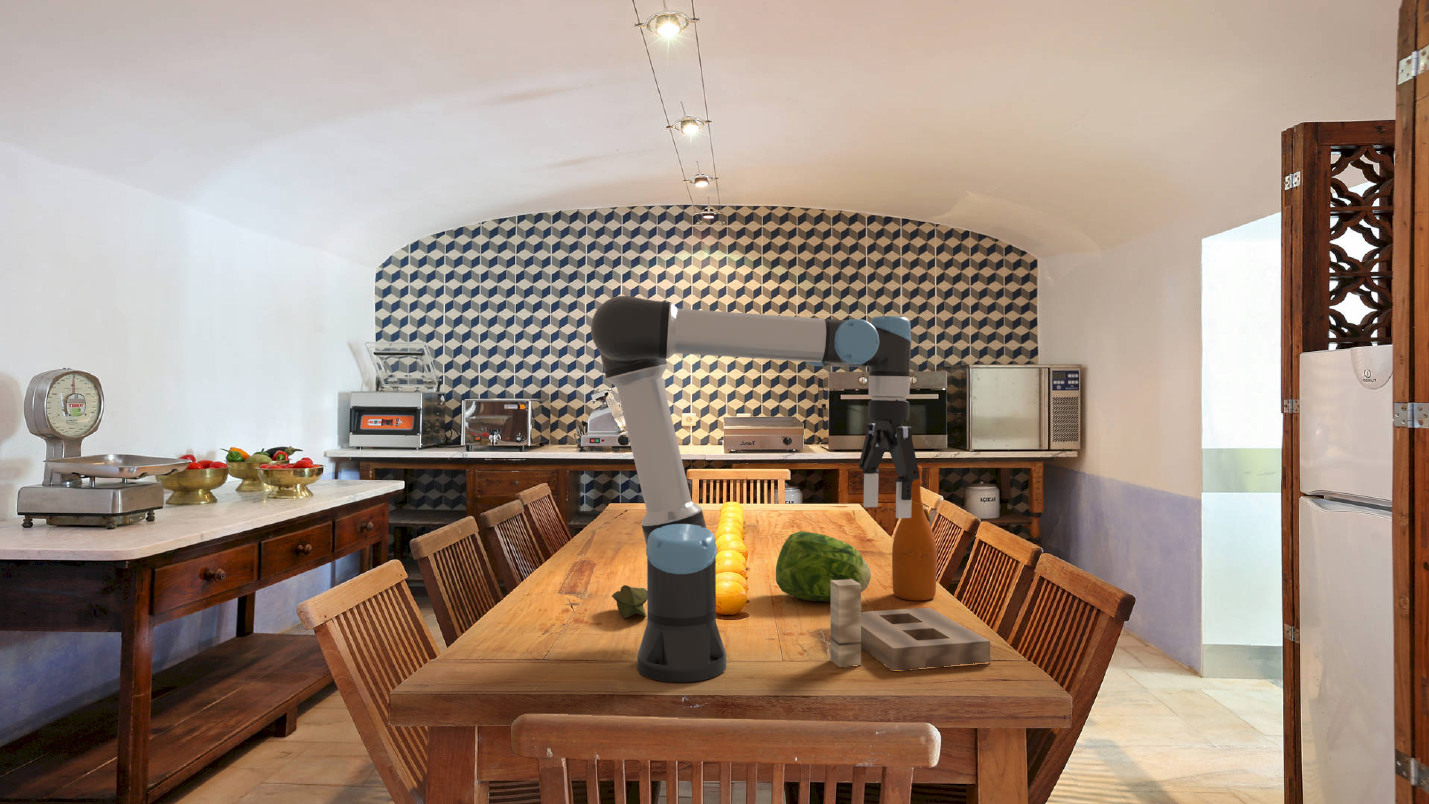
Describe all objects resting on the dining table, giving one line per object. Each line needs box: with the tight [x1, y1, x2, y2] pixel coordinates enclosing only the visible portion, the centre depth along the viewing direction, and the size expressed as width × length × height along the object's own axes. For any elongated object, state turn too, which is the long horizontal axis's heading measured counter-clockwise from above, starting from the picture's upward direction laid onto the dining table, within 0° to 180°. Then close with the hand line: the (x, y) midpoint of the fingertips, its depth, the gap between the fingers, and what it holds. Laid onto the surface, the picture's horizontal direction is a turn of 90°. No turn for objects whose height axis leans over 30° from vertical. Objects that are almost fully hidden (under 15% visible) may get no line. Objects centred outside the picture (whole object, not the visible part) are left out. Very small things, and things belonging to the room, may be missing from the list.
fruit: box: [611, 584, 647, 619], centre depth 171 cm, size 11×12×7 cm
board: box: [861, 607, 991, 671], centre depth 150 cm, size 18×22×4 cm
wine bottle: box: [891, 464, 938, 602], centre depth 187 cm, size 10×10×30 cm
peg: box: [829, 579, 862, 668], centre depth 142 cm, size 4×4×14 cm
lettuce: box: [775, 530, 872, 603], centre depth 184 cm, size 16×21×15 cm
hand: (886, 512), depth 154 cm, fingers open, 13 cm apart
